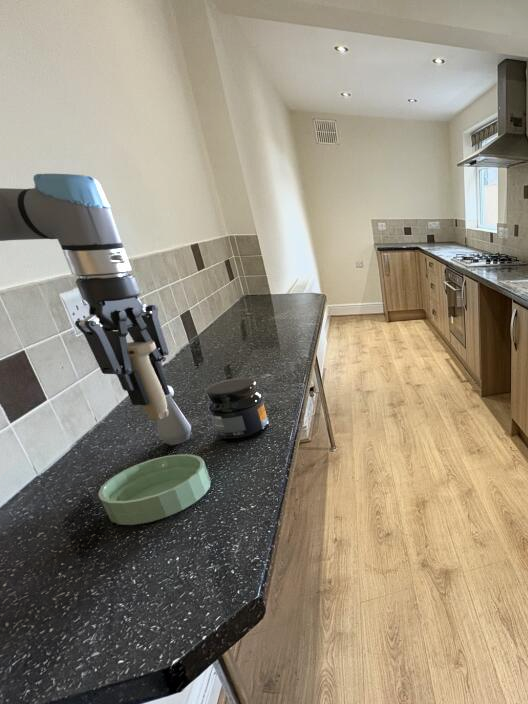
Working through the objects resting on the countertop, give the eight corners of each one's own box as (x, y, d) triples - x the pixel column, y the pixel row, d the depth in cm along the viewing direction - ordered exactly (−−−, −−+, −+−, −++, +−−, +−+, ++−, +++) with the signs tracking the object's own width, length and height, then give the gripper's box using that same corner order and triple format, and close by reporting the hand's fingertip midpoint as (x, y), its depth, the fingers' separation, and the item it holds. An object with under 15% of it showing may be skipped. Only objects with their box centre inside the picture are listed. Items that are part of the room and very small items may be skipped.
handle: (139, 417, 81) (110, 344, 75) (180, 409, 84) (155, 339, 78) (136, 427, 77) (105, 351, 71) (179, 418, 80) (152, 345, 75)
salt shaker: (191, 431, 96) (173, 380, 91) (196, 440, 92) (178, 387, 87) (160, 440, 92) (139, 387, 87) (163, 450, 88) (142, 395, 83)
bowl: (86, 526, 67) (73, 501, 65) (159, 475, 80) (150, 453, 78) (168, 529, 66) (158, 504, 64) (229, 477, 79) (222, 455, 77)
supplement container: (274, 419, 101) (262, 374, 97) (265, 440, 92) (251, 391, 87) (225, 426, 98) (210, 379, 94) (210, 448, 89) (194, 398, 84)
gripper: (73, 283, 62) (130, 420, 71) (166, 269, 78) (203, 382, 87) (27, 283, 62) (89, 419, 71) (129, 268, 78) (169, 382, 87)
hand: (151, 398), depth 79 cm, fingers closed on handle, 4 cm apart
